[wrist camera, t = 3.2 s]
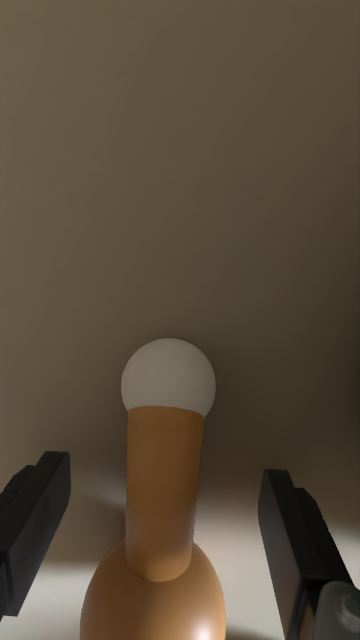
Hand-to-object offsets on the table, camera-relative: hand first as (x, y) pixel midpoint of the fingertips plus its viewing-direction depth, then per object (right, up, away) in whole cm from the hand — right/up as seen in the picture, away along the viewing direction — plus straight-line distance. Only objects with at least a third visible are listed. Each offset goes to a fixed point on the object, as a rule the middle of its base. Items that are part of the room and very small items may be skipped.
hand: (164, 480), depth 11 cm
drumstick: (0, 0, +1) cm, 1 cm away
